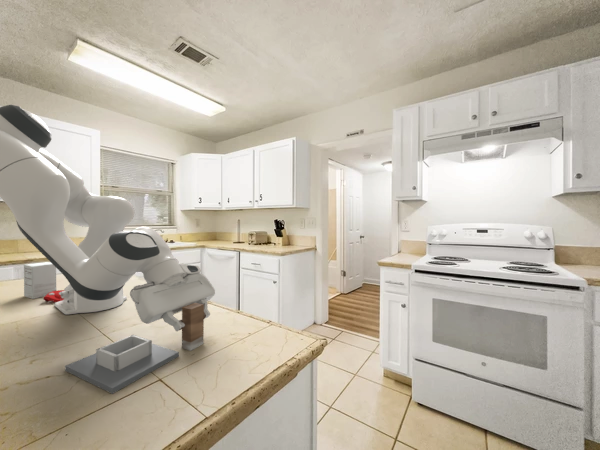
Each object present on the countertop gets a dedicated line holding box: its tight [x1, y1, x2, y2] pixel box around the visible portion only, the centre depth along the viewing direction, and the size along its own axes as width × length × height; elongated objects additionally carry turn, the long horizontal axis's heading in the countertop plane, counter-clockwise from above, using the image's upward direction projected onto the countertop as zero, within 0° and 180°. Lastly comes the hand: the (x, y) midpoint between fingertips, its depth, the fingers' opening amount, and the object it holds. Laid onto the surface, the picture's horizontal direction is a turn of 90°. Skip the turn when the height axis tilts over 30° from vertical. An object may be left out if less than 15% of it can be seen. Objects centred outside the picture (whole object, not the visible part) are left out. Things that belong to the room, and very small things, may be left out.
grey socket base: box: [64, 334, 180, 394], centre depth 55 cm, size 16×14×4 cm
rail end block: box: [181, 303, 205, 352], centre depth 63 cm, size 3×4×10 cm
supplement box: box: [23, 261, 57, 300], centre depth 101 cm, size 7×7×13 cm
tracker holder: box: [42, 289, 64, 303], centre depth 97 cm, size 12×4×10 cm
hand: (194, 322), depth 63 cm, fingers open, 7 cm apart
